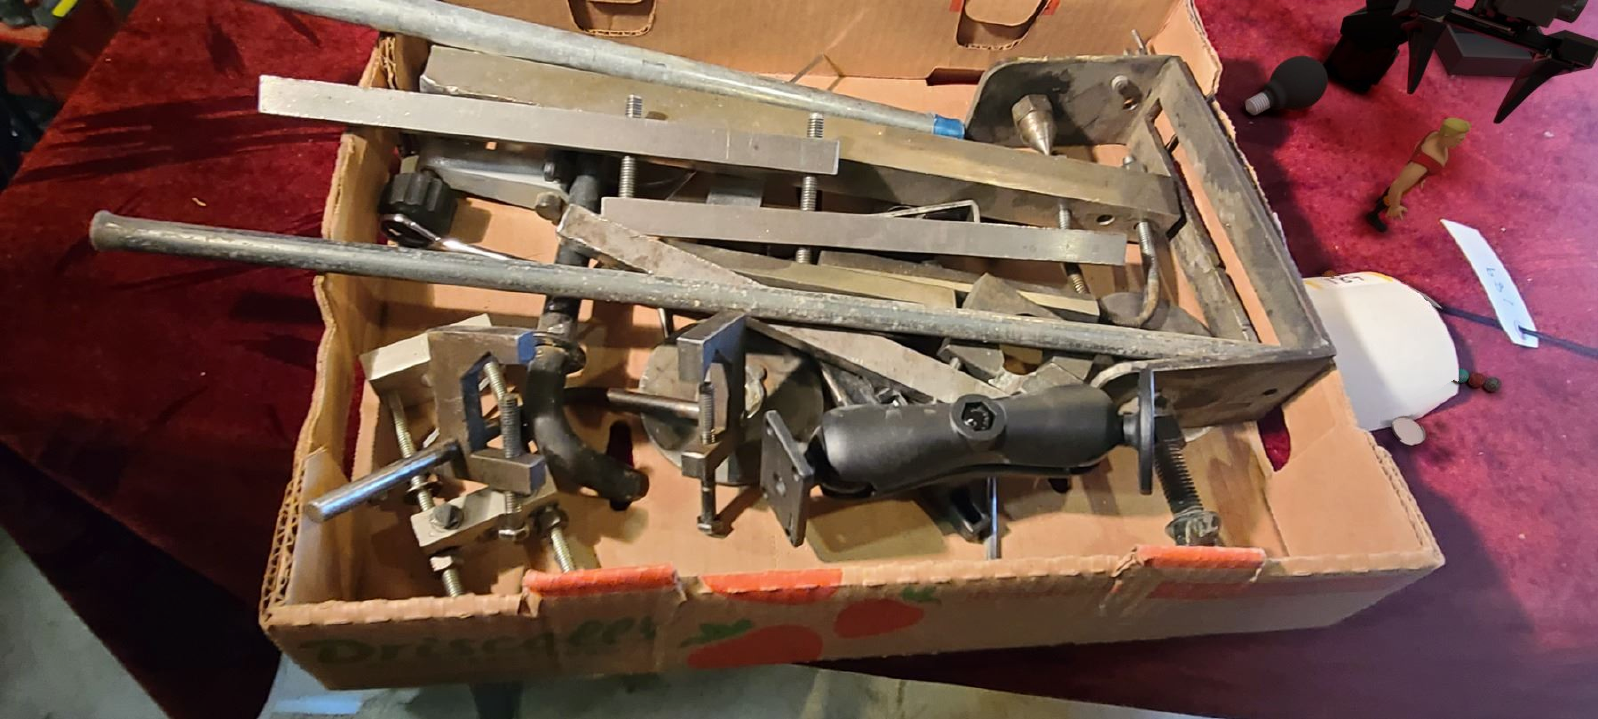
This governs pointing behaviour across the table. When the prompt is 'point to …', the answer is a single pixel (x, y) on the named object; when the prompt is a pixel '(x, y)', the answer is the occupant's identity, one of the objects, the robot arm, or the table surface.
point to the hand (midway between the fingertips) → (1452, 108)
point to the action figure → (1420, 168)
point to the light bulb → (1291, 86)
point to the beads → (1479, 380)
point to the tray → (1480, 53)
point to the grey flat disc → (1408, 431)
